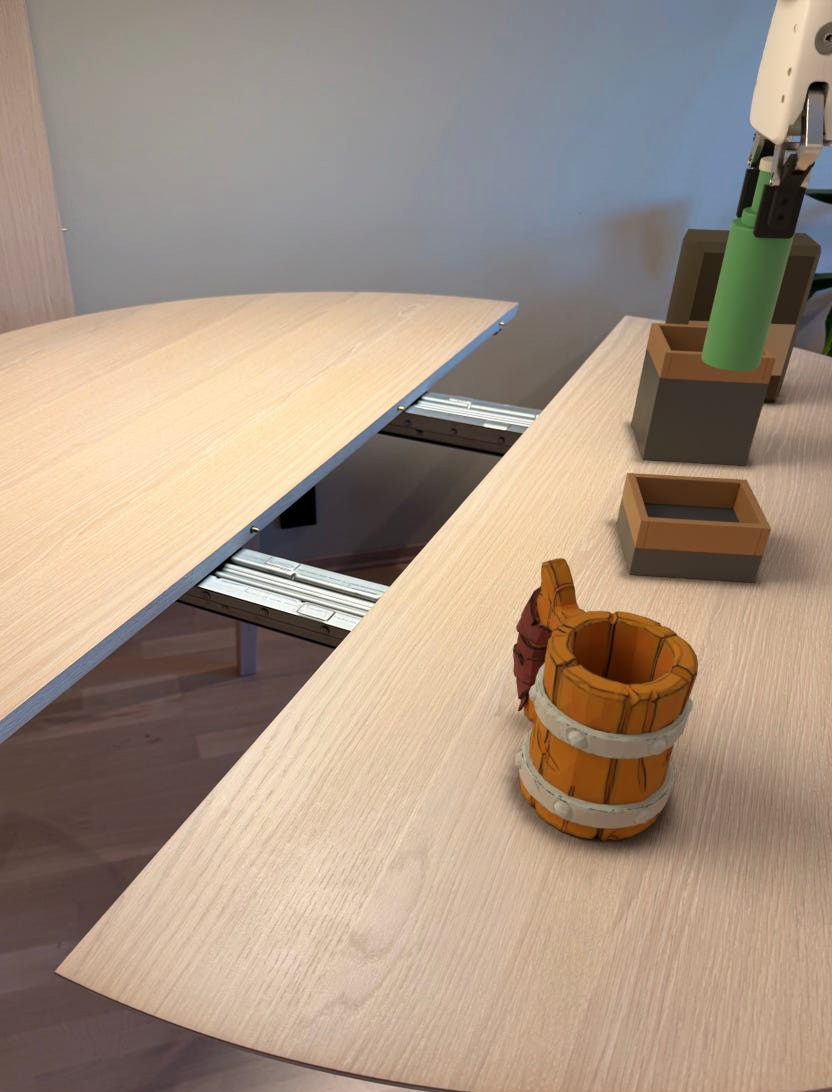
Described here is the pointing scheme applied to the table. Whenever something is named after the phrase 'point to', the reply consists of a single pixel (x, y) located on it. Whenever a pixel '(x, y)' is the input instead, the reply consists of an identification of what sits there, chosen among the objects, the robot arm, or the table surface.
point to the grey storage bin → (695, 401)
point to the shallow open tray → (691, 527)
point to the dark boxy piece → (701, 280)
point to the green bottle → (746, 290)
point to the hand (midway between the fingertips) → (763, 225)
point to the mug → (598, 711)
